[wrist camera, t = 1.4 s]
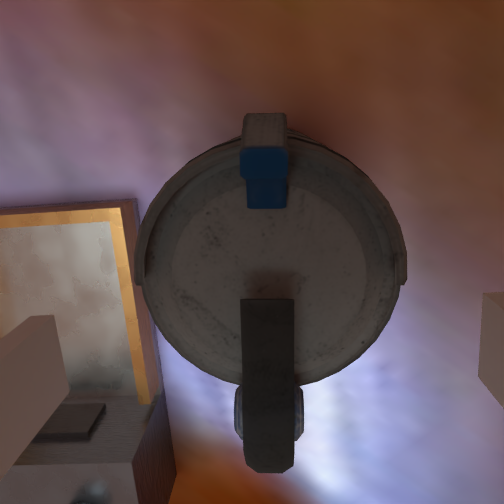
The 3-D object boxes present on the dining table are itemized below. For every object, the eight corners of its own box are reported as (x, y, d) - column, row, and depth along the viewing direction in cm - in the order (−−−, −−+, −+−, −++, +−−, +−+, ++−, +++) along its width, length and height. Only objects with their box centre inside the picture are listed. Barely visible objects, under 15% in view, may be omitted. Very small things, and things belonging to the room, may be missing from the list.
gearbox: (-34, 210, 40) (-161, 246, 28) (136, 198, 39) (76, 231, 27) (33, 477, 47) (-46, 593, 36) (176, 474, 46) (142, 592, 35)
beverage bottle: (216, 277, 40) (124, 509, 16) (209, 119, 36) (76, 116, 12) (333, 276, 40) (419, 517, 16) (338, 116, 36) (458, 106, 12)
